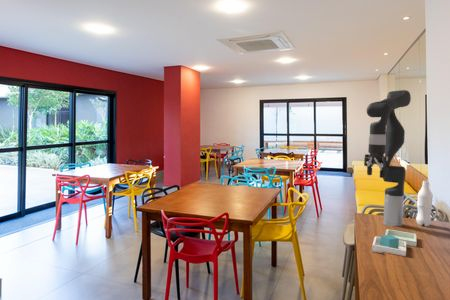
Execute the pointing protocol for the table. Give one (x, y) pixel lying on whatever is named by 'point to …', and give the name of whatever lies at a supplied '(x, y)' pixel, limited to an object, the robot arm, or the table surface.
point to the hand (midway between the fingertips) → (375, 176)
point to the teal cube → (389, 241)
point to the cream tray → (381, 249)
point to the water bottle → (424, 205)
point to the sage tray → (403, 236)
